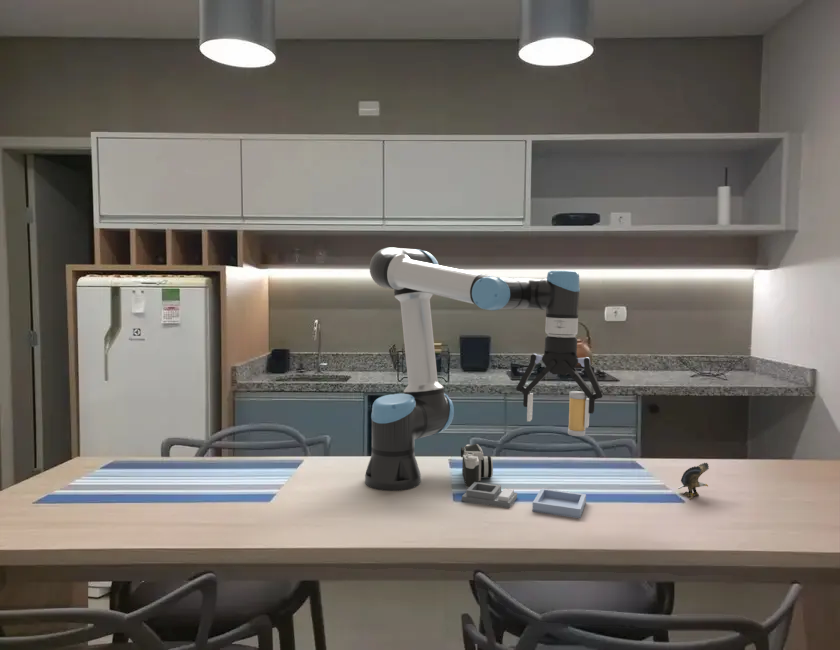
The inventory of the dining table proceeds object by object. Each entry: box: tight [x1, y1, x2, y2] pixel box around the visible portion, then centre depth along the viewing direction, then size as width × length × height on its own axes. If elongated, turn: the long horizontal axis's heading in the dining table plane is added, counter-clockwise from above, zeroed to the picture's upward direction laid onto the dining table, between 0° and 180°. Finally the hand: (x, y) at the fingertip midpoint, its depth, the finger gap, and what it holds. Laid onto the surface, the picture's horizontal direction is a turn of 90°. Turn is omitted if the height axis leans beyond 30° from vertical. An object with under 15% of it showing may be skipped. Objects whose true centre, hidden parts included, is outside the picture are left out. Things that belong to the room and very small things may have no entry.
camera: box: [460, 443, 494, 489], centre depth 162 cm, size 16×9×10 cm, turn 0°
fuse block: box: [461, 481, 518, 509], centre depth 146 cm, size 12×8×3 cm, turn 68°
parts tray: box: [532, 487, 587, 519], centre depth 141 cm, size 11×11×2 cm
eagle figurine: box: [677, 462, 710, 501], centre depth 150 cm, size 8×7×9 cm
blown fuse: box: [567, 390, 588, 437], centre depth 139 cm, size 4×4×10 cm
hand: (557, 423), depth 141 cm, fingers open, 13 cm apart
